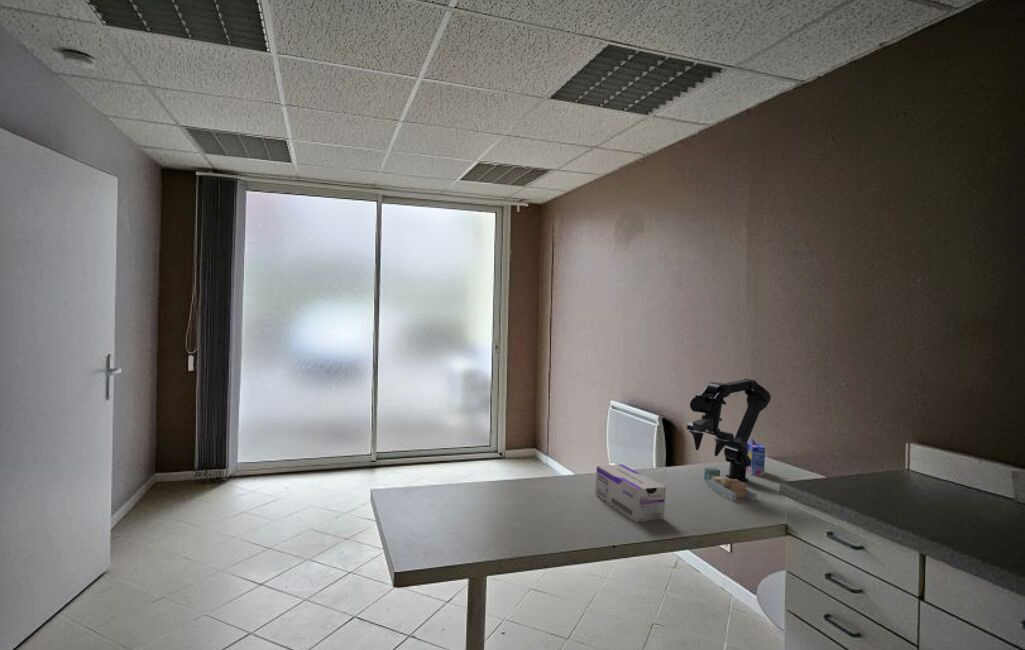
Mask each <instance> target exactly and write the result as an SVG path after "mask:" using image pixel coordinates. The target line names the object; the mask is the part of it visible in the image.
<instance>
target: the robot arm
mask: <svg viewBox="0 0 1025 650" xmlns="http://www.w3.org/2000/svg"><path fill="white" fill-rule="evenodd" d="M739 392H744V394H745V395H746V404H747V408H746V410H745V413H744V415H743V417H742V420H741V422H740V425H739V426H738V429H737V431H736V434H735V436H734V433H732V432H728V431H722V430H721V428H719V425H720V422H722V420H723V418H721V415H722V407H723V405H727V403H726V401H725V399H724V398H727V397H730V395H731V394H733V393H739ZM771 398H772V397H771V394H770V391H768V390H767V389H766V388H765V387H763V386H762V385H760V384H759V383H758V382H757V381H756V380H754V379H750V378H743V379H740V380H734V381H730V382H717V381H716V382H715V381H711V382H708V384H707V386H705V388H704V390H703V391H702V392H701V393H700V394H695V397H693V398H692V399H691V400H690V402H689V406H690V407H689V408H690V409H691V411H692V412H694V413H701V414H702V413H703V414H702V415H701V418H700V419H696V420H694V421H692V422H689V423H688V424H687V425H686V430H688V432H689V433H690V434H691V435H692V437H693V442H694V446H695V450H696V451H699V449H700V447H701V444H702V440H703V437H704V434H705V433H706V434H709V435H712V436H715V438H714V441H715V447H714V456H715V457H718V455H720V453H721V452H722V450H723V452H724V458H725V462H728V463H729V473H728V474H725V477H727V478H728V479H737V480H739V481H741V482H743V481H749V478H747V477H746V476H747V470H746V467H748V466H750V465H751V462H752V461H751V460H750V458H749V457H748V455H747V453H748V446H747V442H749V439H750V438H751V437H750V436H751V434H752V432H753V430H754V426H755V425H756V422H757V420H758V418H759V416H760V415H759V414H760V412H761V411H763V410H764V409H765V408H767V407H768V406H769V405H768V404H769V403H770V401H771Z"/></svg>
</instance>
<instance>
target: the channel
mask: <svg viewBox="0 0 1025 650" xmlns="http://www.w3.org/2000/svg"><path fill="white" fill-rule="evenodd" d="M706 483H707V485H706V486H707V487H708V488H710V489H712V490H713V491H715V492H717V493H719V494H721V495H722V496H724V497H725V498H727V499H729V500H730V501H733V502H736V501H737V498H736V496H737V494H736V493H734V492H732V491H731V490H729V489H727V488H725V487H723V486H722V485H720V484H718V483H716V482H714V481H713V480H706ZM746 497H747V498H748V499H750V500H752V501H757V500H758V499H757V498H758V493H757V492H755V491H754V490H752V489H749V488H747V487H746V495H745V498H746Z"/></svg>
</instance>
